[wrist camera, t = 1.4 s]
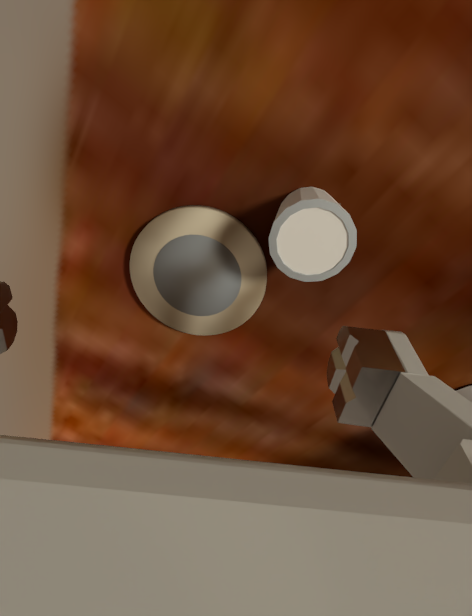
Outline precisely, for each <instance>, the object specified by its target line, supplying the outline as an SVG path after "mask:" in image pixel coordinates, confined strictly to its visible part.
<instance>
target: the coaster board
mask: <svg viewBox="0 0 472 616" xmlns="http://www.w3.org/2000/svg"><path fill="white" fill-rule="evenodd" d="M130 276H131V281H132V284H133V287H134V290H135V292H136V294H137V296H138V298H139V299H140V301H141V302H142V304H143V305H144V306H145V308H146V309H147V310H148V311H149V312H150V313H151V314H152V315H153V316H154V317H156V318H157V319H158V320H159V321H161V322H162V323H164V324H165V325H167V326H169V327H171V328H173V329H176V330H178V331H181V332H184V333H188V334H194V335H216V334H221V333H224V332H227V331H230V330H232V329H235V328H237V327H238V326H240V325H242V324H243V323H244V322H246V321H247V320H248V319H249V318H250V317H251V316H252V315H253V314H254V313H255V311H256V310H257V308H258V307H259V305H260V303H261V301H262V299H263V296H264V293H265V288H266V281H267V267H266V260H265V257H264V253H263V251H262V248H261V246H260V244H259V242H258V241H257V239H256V237H255V236H254V235H253V234H252V232H251V231H250V230H249V229H248V228H247V227H246V226H245V225H244V224H243V223H242V222H240V221H239V220H238V219H236V218H235V217H233V216H232V215H230V214H228V213H226V212H224V211H221V210H219V209H216V208H212V207H208V206H201V205H187V206H180V207H176V208H173V209H170V210H168V211H166V212H163V213H162V214H160V215H158V216H157V217H155V218H154V219H153V220H152V221H151V222H150V223H149V224H148V225H147V226H146V227H145V228H144V229H143V230H142V231H141V232H140V234H139V236H138V237H137V239H136V241H135V243H134V245H133V248H132V252H131V255H130Z"/></svg>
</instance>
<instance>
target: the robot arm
mask: <svg viewBox="0 0 472 616" xmlns="http://www.w3.org/2000/svg"><path fill="white" fill-rule="evenodd" d="M11 299H12V294H11V291H10V287H9V285H7V284H6V283H5V282H1V281H0V353H3V352H5V351H7V350H8V349H9V347H10V346H11V345H12V343H13V341H14V338H15V336H16V333H17V318H16V314H15V312H14V311H13V310H12V309H11V308H10V307H9V306H8V303H9V302H10V301H11ZM336 339H337V343H338V346H339V347H338V348H337V349H335V350H334V351H332V352H331V355H330V358H329V361H328V366H327V382H328V386H329V389H331V390H332V391H333V392H334V393H335V396H334V399H333V401H332V402H333V406H334V410H335V414H336V418H337V421H338V423H344V424H351V425H359V426H366V427H372V430H373V431H374V432H375V434H376V435H377V436H378V437H379V438H380V439H381V440H382V442H383V443H384V444H385V445H386V446H387V447H388V449H389V450H390V451H391V452H392V453H393V454H394V456H395V457H396V458H397V459H398V460H399V461H400V462H401V464H402V465H403V466H404V467H405V468H406V469H407V471H408V472H409V473H410V474H411V475H412V476H413V477H404V476H394V475H384V474H375V473H365V472H355V471H346V470H336V469H326V468H317V467H307V466H297V465H288V464H278V463H268V462H258V461H249V460H239V459H229V458H220V457H210V456H201V455H191V454H181V453H172V452H162V451H152V450H143V449H133V448H123V447H114V446H104V445H95V444H85V443H75V442H65V441H56V440H46V439H36V438H26V437H16V436H6V435H0V616H472V386H468V387H465V388H462V389H459V390H457V391H455V390H453V389H452V388H450V387H449V386H448V385H446V384H445V383H443V382H442V381H441V380H439V379H438V378H436V377H435V376H429V375H428V373H427V372H426V370H425V368H424V366H423V365H422V363H421V361H420V359H419V358H418V356H417V354H416V352H415V350H414V349H413V347H412V345H411V343H410V342H409V340H408V338H407V336H406V335H405V334H404V333H402V332H398V331H388V330H375V329H366V328H357V327H348V326H342V328H341V329H340V331H339V333H338V336H337V338H336Z"/></svg>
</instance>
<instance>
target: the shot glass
mask: <svg viewBox="0 0 472 616" xmlns="http://www.w3.org/2000/svg"><path fill="white" fill-rule="evenodd" d="M268 239H269V249H270V255H271V257H272V259H273V260H274V262H275V264H276V266H277V268H279V269H280V270H281V271H282V272H284V273H285V274H286V275H288V276H289V277H290V278H294V279H297V280H301V281H304V282H311V281H322V280H325V279H327V278H329V277H331V276H334V275H336V274H338V273H339V272H340V271H341V270H342V269H343V268H344V267H345V266H346V265H347V264H348V263H349V262H350V260H351V258H352V255H353V253H354V251H355V249H356V239H357V230H356V228H355V225H354V223H353V221H352V219H351V216H350V215H349V214H348V213H347V212H346V211H345V210H344V209H343V208H342V207H341V206H340V205H339V204H338V203H337V202H336V201H335V200H334V199H333V198H332V197H331V196H330V195H329V194H328V193H327V192H325V191H324V190H322V189H318V188H315V187H305V188H299V189H297V190H295V191H294V192H292V193H290V194H289V195H288V196H287V197H286V198H285V199H284V201H283V202H282V203H281V205H280V208H279V210H278V213H277V215H276V218H275V220H274V223H273V226H272V229H271V232H270V235H269V238H268Z"/></svg>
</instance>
